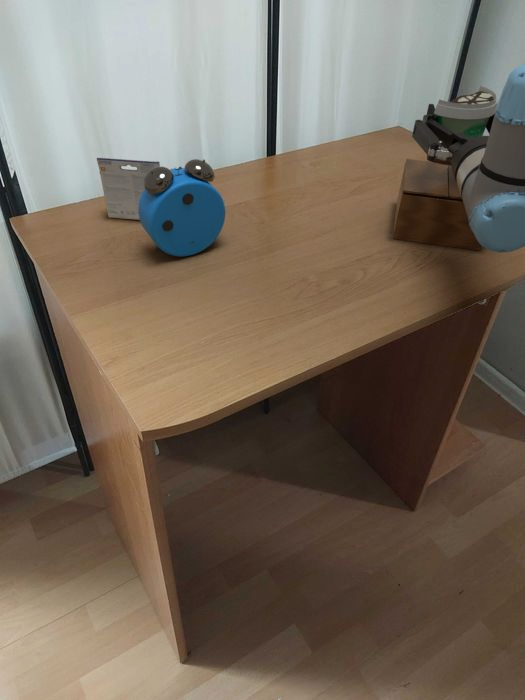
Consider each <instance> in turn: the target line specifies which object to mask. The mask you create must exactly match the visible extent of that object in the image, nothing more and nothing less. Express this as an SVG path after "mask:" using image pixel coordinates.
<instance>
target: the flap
mask: <svg viewBox="0 0 525 700" xmlns="http://www.w3.org/2000/svg"><path fill="white" fill-rule="evenodd" d="M447 168H448V186H449V198H453V199H461V200H462V198H461V195H460V192H459V189H458V186H457V183H456V181H455V178H454V175H453V171H452V166H451V165H447Z"/></svg>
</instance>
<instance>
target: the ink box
mask: <svg viewBox="0 0 525 700" xmlns="http://www.w3.org/2000/svg"><path fill="white" fill-rule="evenodd" d="M96 162H97V165H98V170H99V175H100V180H101V186H102V191H103V196H104V202H105V206H106V207H105V208H106V212H107V217H108V218H110V219H111V218H112V219H123V220H134V221H135V220H137V221H140V218H139V201H140V198H141V195H142V193H143V191H144V189H145V188H144V178H145V176H146V174H147V173H148V172H149V171H150V170H151V169H153V168H155V167H161V166H160V161H150V160H137V159H136V160H135V159H124V158H123V159H122V158H108V157H96ZM128 166H130V167H132V168H136V169H129V168H128V169H127V168H122V167H128Z"/></svg>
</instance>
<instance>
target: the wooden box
mask: <svg viewBox="0 0 525 700" xmlns="http://www.w3.org/2000/svg"><path fill="white" fill-rule="evenodd" d="M396 200H397V201H396V207H395V214H394V221H393V223H394V224H393V231H392V232H393V233H392V239H393V240H399V241H408V242H413V243H420V244H427V245H428V244H429V245H434V246H435V245H437V246H443V247H450V248H457V249H465V250H473V251H480V250H481V248H482V245H481V244H480V243H479V242H478V241H477V239H476V237H475V235H474V233H473V232H472V231H471V229H470V226H469V220H468V216H467V213H466V209H465V206H464V203H463V200H461V199H453V198H449V186H448V165H442V164H438V163H434V162H431V161H428V160H420V159H413V158H412V159H410V158H406V159H405V163H404V166H403V171H402V176H401V180H400V186H399V191H398V195H397V199H396Z"/></svg>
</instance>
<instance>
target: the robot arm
mask: <svg viewBox="0 0 525 700" xmlns="http://www.w3.org/2000/svg"><path fill="white" fill-rule="evenodd" d="M435 108H436V106H435V105H434V103H428V106H427V111H426V114H424V115H423V116H422V120H421V119H416V120H415V121H414V125H413V130H412V134H411V138H413V140H414V141H415V142H416V143H417V144H418V146H419V147H420V149H422V151H423V152H424V153H425V154H426V161H429V162H433V161H435V159H436V158H439V157H446V159H447V161H448V162H450V163H451V164H452V171H453V175H454V178H455V181H456V183H457V186H458V189H459V192H460V195H461V198H462V200H463V203H464V206H465V209H466V213H467V216H468V220H469V226H470V229H471V231H472V232H473V233H474V235H475V237H476V239H477V241H478V242H479V243H480V244H481V247H483V248H484V249H486V250H488V251H490V252H495V253H498V254H499V253H511V252H514V251H518V250H520V249H522V248H524V247H525V63H522V64H520V65H518V66H516V67H515V68H513V70H512V71H510V73H509V74H508V77H507V78H506V82H505V83H504V86H503V88H502V91H501V94H500V96H499V99H498V100H497V106H496V108H495V114H494V115H492V116H490V118H489V120H488V123H487V125H486V128H485V130H486V131H487V133H488V135H483V136H479V137H476V138H472V137H467V136H465V135H463V134H462V133H460V132H458V133H454V132H452V131H451V130H449V129H447V128H446V127H444V126H443V125H441V124H439V123H438V117H437V116H436V114H434V111H435Z"/></svg>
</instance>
